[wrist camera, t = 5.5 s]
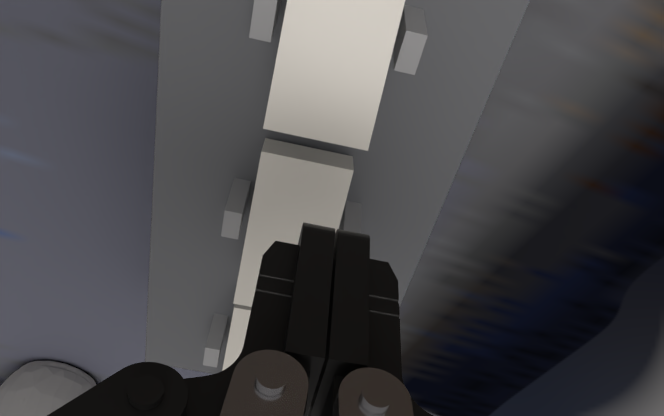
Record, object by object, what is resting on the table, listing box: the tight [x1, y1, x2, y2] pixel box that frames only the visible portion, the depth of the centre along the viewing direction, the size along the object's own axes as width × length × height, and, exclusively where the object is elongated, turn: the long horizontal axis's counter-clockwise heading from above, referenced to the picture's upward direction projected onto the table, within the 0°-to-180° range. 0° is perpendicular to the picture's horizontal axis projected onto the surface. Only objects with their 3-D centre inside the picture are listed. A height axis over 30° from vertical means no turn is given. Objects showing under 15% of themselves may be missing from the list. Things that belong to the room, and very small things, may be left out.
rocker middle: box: [233, 138, 354, 307], centre depth 29 cm, size 8×4×2 cm, turn 168°
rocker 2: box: [263, 0, 405, 151], centre depth 23 cm, size 8×4×2 cm, turn 168°
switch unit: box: [145, 0, 530, 374], centre depth 32 cm, size 30×14×8 cm, turn 168°
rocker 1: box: [222, 304, 252, 371], centre depth 35 cm, size 8×4×2 cm, turn 168°
